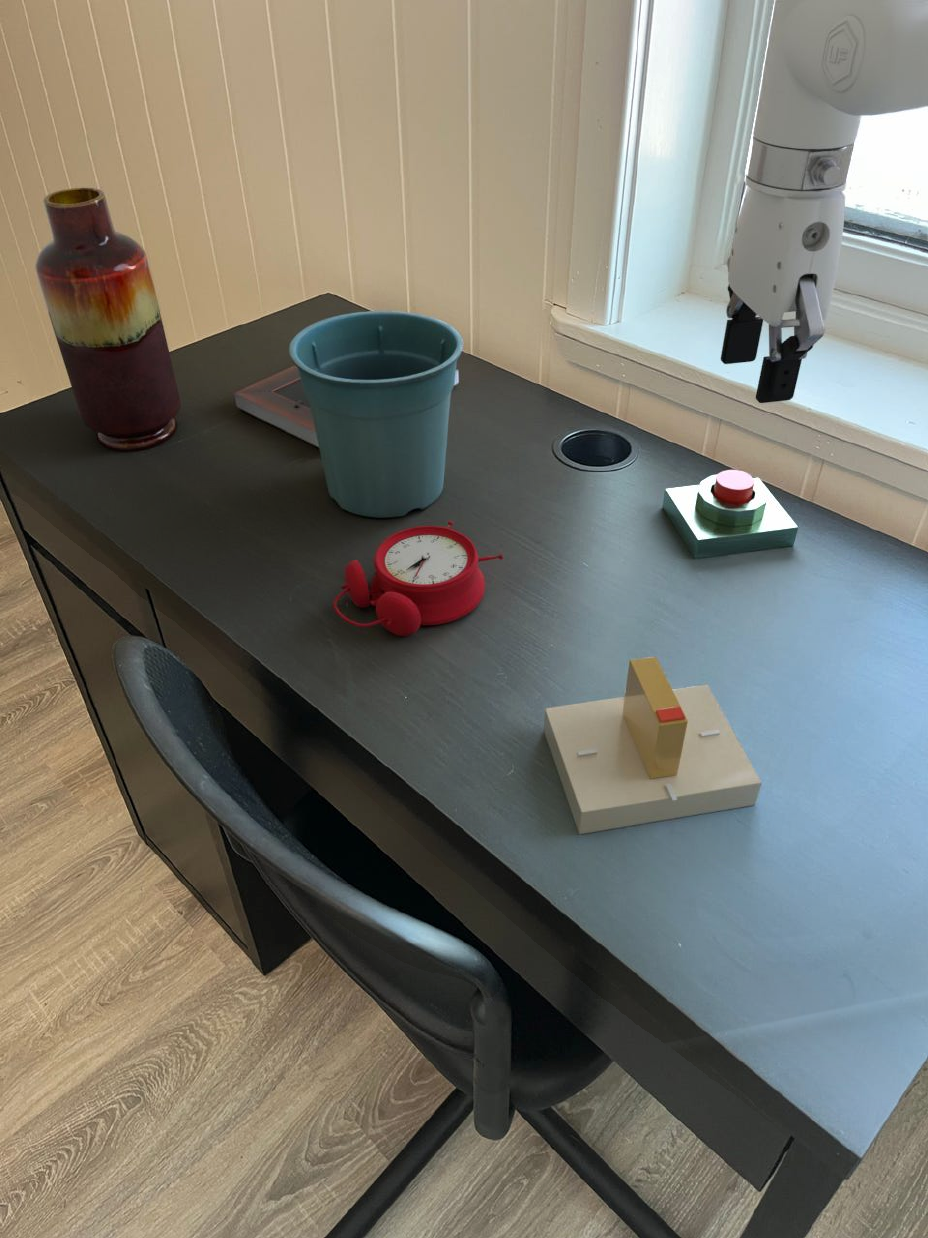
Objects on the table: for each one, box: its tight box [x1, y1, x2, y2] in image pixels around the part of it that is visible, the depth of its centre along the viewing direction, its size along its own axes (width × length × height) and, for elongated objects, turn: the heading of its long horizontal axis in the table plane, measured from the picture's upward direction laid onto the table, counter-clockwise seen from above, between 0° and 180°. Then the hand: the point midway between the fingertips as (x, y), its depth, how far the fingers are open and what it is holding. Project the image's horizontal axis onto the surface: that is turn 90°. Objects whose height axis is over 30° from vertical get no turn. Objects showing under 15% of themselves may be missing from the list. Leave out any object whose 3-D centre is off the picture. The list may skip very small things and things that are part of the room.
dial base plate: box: [543, 684, 762, 835], centre depth 69 cm, size 13×11×3 cm
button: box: [713, 469, 755, 504], centre depth 91 cm, size 4×4×2 cm
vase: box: [34, 187, 181, 452], centre depth 101 cm, size 11×11×26 cm
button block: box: [662, 474, 799, 560], centre depth 92 cm, size 10×9×4 cm
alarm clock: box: [333, 520, 504, 637], centre depth 84 cm, size 10×6×15 cm
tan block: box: [623, 656, 688, 779], centre depth 67 cm, size 6×2×6 cm, turn 10°
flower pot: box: [288, 310, 464, 519], centre depth 95 cm, size 16×16×16 cm
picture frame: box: [233, 364, 460, 448], centre depth 114 cm, size 16×2×22 cm
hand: (755, 378), depth 83 cm, fingers open, 6 cm apart
